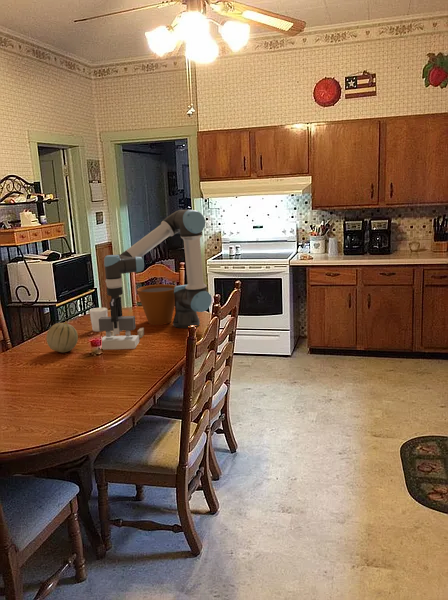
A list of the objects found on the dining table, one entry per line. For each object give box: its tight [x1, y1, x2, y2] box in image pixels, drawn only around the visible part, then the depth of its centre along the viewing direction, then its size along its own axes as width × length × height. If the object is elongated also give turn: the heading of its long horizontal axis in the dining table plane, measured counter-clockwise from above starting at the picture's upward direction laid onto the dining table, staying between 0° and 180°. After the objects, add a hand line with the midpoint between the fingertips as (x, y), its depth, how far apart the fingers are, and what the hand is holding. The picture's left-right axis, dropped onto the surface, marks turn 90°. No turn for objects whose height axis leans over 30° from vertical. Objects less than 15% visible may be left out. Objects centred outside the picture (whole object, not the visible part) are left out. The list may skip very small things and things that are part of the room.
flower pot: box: [136, 283, 177, 326], centre depth 310 cm, size 24×24×20 cm
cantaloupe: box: [46, 320, 79, 353], centre depth 259 cm, size 15×15×15 cm
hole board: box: [101, 334, 140, 350], centre depth 266 cm, size 18×10×4 cm, turn 87°
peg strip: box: [99, 315, 137, 337], centre depth 264 cm, size 17×5×10 cm, turn 87°
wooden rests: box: [111, 327, 145, 339], centre depth 281 cm, size 17×6×4 cm, turn 87°
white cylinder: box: [89, 307, 109, 332], centre depth 297 cm, size 10×10×12 cm
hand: (118, 332), depth 264 cm, fingers closed on peg strip, 5 cm apart
